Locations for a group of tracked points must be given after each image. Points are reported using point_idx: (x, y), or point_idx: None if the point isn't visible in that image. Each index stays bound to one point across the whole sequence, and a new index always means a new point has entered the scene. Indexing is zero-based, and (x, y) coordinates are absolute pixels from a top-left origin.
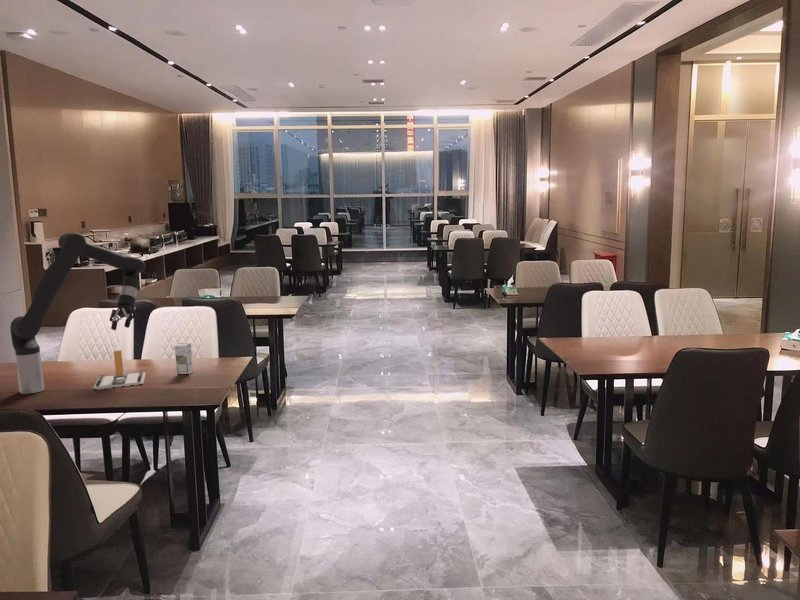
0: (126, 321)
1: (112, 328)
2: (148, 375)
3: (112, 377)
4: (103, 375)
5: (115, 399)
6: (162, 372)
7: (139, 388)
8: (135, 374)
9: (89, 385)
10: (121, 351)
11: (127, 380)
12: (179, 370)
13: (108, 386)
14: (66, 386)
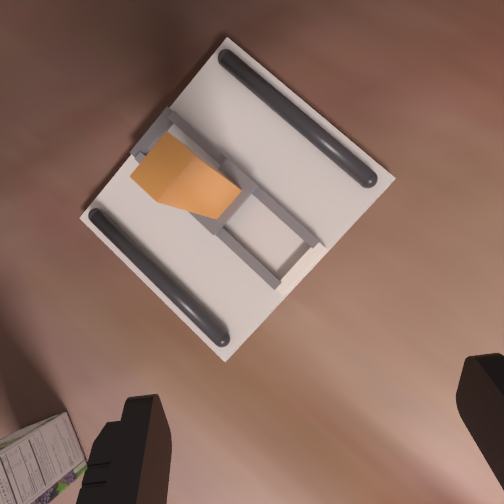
0: (107, 489)
1: (471, 360)
2: (200, 353)
3: (306, 207)
4: (360, 183)
5: (8, 8)
6: (180, 427)
7: (49, 167)
8: (236, 306)
9: (333, 81)
10: (160, 202)
11: None
12: (38, 424)
13: (183, 95)
14: (446, 4)
